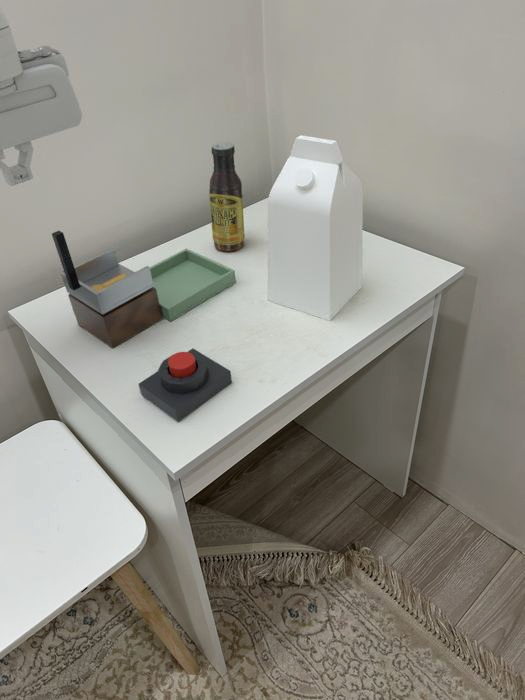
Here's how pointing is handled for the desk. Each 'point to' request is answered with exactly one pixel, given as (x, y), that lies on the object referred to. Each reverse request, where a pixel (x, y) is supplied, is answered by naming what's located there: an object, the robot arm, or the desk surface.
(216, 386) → the grey button base
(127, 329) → the stand
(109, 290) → the grey dustpan
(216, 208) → the sauce bottle
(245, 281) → the desk surface
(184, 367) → the bell button
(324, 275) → the milk
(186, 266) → the tray
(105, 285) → the tan wooden spoon shape
